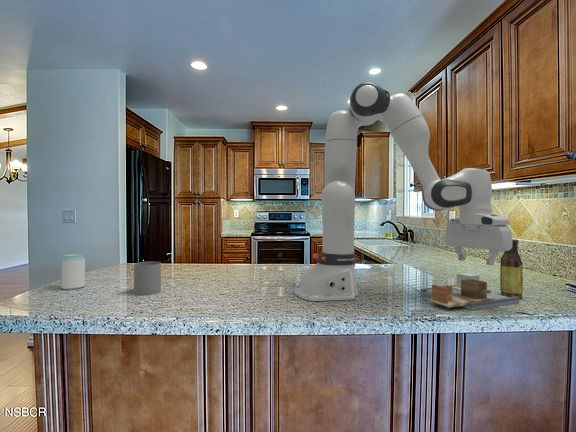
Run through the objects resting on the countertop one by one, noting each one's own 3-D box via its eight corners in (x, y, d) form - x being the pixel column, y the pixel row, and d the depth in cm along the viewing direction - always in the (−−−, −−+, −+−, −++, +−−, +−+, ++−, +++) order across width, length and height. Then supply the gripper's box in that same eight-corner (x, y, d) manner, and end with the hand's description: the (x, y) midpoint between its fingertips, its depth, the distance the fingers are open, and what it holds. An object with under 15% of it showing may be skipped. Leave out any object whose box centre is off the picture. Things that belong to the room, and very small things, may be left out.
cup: (128, 293, 102) (128, 264, 102) (148, 288, 109) (148, 260, 109) (147, 296, 99) (147, 266, 98) (165, 290, 106) (166, 262, 106)
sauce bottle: (526, 300, 100) (527, 240, 100) (505, 298, 101) (506, 239, 101) (515, 295, 106) (517, 238, 106) (496, 293, 108) (497, 238, 107)
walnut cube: (475, 299, 93) (476, 283, 93) (460, 295, 97) (461, 280, 97) (486, 298, 95) (486, 282, 95) (471, 294, 99) (471, 278, 99)
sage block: (469, 290, 105) (469, 276, 105) (456, 287, 109) (456, 273, 109) (479, 289, 106) (479, 275, 106) (466, 286, 111) (466, 272, 111)
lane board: (471, 310, 88) (471, 304, 88) (420, 294, 106) (420, 288, 106) (519, 302, 97) (519, 297, 97) (464, 288, 114) (464, 284, 114)
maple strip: (448, 307, 87) (449, 289, 87) (429, 300, 93) (429, 284, 93) (495, 300, 95) (495, 284, 95) (473, 295, 101) (474, 279, 101)
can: (82, 284, 113) (82, 252, 113) (87, 288, 108) (87, 254, 108) (59, 287, 108) (59, 254, 108) (63, 291, 103) (63, 256, 103)
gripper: (440, 218, 104) (440, 258, 104) (501, 219, 85) (501, 268, 85) (453, 218, 106) (453, 257, 107) (515, 219, 88) (515, 266, 88)
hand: (475, 262), depth 96 cm, fingers open, 8 cm apart
